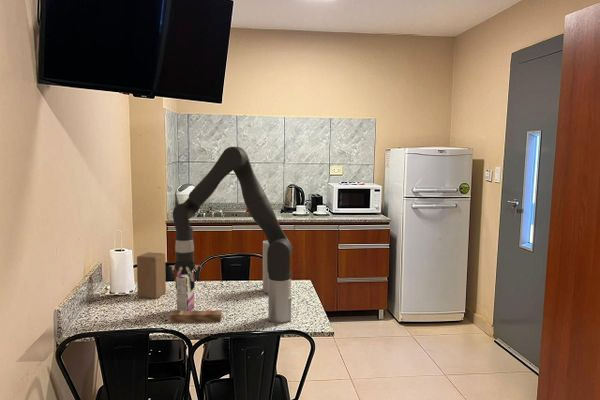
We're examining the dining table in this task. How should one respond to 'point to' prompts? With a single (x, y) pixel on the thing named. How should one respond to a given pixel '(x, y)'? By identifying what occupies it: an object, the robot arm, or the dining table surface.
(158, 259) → the wooden block
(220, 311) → the guide board
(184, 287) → the candy bar box
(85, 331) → the dining table surface
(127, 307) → the dining table surface
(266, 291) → the cylinder vase
